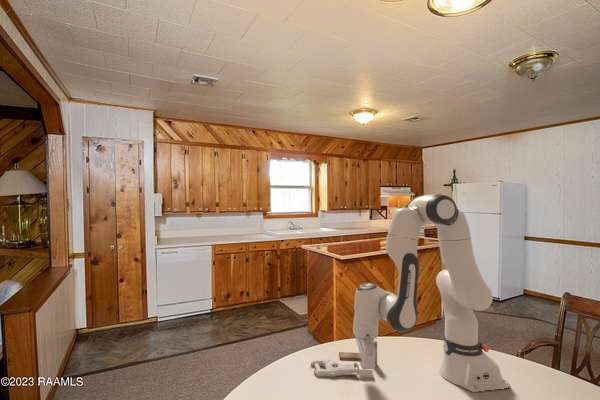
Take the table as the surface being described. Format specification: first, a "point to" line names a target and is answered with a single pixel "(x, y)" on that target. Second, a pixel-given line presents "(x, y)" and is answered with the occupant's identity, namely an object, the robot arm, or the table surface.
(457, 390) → the table surface
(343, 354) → the bar
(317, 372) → the gun
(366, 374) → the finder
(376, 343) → the tan rounded rod
